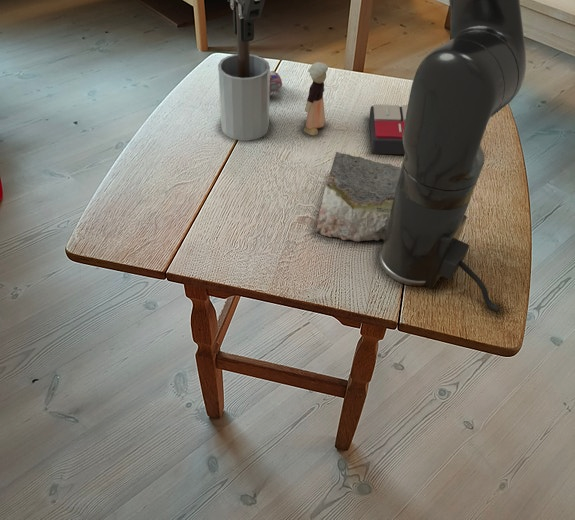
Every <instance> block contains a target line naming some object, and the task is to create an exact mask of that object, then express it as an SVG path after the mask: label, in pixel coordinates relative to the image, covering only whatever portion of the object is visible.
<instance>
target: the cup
mask: <svg viewBox="0 0 575 520" xmlns="http://www.w3.org/2000/svg"><path fill="white" fill-rule="evenodd" d="M217 72H218V75H217V76H218V90H219V91H218V92H219V93H218V94H219V105H220V106H219V108H220V109H219V111H220V125H221V130H222V133H223V134H224V135H225V136H227V137H228V138H230V139H233V140H235V141H236V140H237V141H245V142H246V141H247V142H248V141H254V140H257V139H258V140H259V139H260V138H262V137H264V136H265V135H266V134H267V133H268V131H269V127H270V95H269V92H270V72H271V66H270V63H269V62H268V60H266V59H265V58H264V57H262V56H259V55H256V54H251V53H250V73H253V74H254V75H255V77H250V78H239V77H233V75H234V74H236V73H238V53H235V54H231V55H227V56H225V57H224V58H222V59H221V60H220V61H219V63H218V64H217Z"/></svg>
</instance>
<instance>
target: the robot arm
mask: <svg viewBox="0 0 575 520" xmlns="http://www.w3.org/2000/svg"><path fill="white" fill-rule="evenodd" d="M226 1H227V3H229V6H230V9H231V10H232V23H233V24H232V25H233V33H234V34H235V35H236V36H237V19H236V5H237V4H238V11H239V36H240V40H241V41H242V42H248V41H250V42H252V41H253V40H254V39H255V19H259V18H261V16H262V13H263V9H264V5H265V2H266V0H226ZM448 1H449V24H450V27H449V29H450V30H449V31H450V33H449V40H448V41H446V42H445V43H443V44H442V45H440V46H438V47H437V48H435V49H434V50H432V51H430V52H429V53H428V54H427V55H426V56H424V58H423V59H422V61H421V62H420V63H419V65H418V68H416V69H417V70H415V71H416V72H415V74H414V76H413V80H412V83H411V87H410V91H409V98H408V103H407V106H408V107H407V113H406V118H405V124H404V130H403V146H404V150H405V154H403V159H402V163H401V167H400V168H401V171H400V175H399V179H398V184H397V188H396V192H395V196H394V200H393V204H392V208H391V212H390V217H389V221H388V225H387V229H386V233H385V238H384V240H383V241H382V246H381V248H380V251H379V256H378V257H379V264H380V266H381V268H382V269H383V271H384V272H385V273H386V274H387V275H388V276H389V277H390V278H391V279H393V280H395V281H396V282H399V283H400V284H404V285H408V286H412V287H426V288H429V289H433V288H434V287H435V286H436V284H437V283H438V281H439V280H440V279H441V278H442V277H443V278H445V279H447V280H448V281H451V279H452V278H453V277H454V275H455V274H456V272H457V271H458V269H459V268H461V270H463V271H464V272H465V273H466V274H467V275H468V276H469V277H470V278H471V279H472V280H473V281H474V282H475V283H476V284H477V287H478V288H479V289H480V291H481V294H482V298H483V301H484V303H485V304H486V306H487V307H488V308H489V309H491V310H492V311H495V312H496V313H498V311H499V309H500V308H501V307H500V306H498V305H496V304H494V303H493V302H492V301H491V299H490V296H489V291H488V289H487V287H486V284H485V283H484V282H483V281H482V279H481V278H480V277H479V276H478V275H477V273H476V272H474V271H473V270H472V269H471V268H470V267H469V266H468V265H467V264H466V263H465V262H464V260H465V258H466V255H467V253H468V252H469V251H468V250H469V248H470V246H471V245H470V244H468V243H466V242H463V241H462V240H460V237H461V234H462V231H463V229H464V227H465V224H466V221H467V220H468V219H467V218H468V216H467V215H466V212H467V210H468V207H469V204H470V201H471V198H472V197H473V194H474V190H475V188H476V185H477V183H478V181H479V178H480V176H481V173H482V170H483V167H484V164H485V153H484V150H483V148H482V147H481V143H482V140H483V138H484V134H485V131H486V129H487V126H488V124H489V121H490V119H491V118H492V117H494V115H496V114H497V113H499V112H500V111H501V110H502V109H503V108H505V107H506V106H507V105H509V103H511V102H512V101H513V99H514V98H515V97H516V96H517V95H518V94H519V92H520V89H521V87H522V85H523V83H524V80H525V76H526V71H527V57H526V56H527V53H526V44H525V43H526V42H525V35H524V33H525V32H524V25H523V17H522V10H521V9H522V8H521V1H520V0H448ZM244 4H245V6H244Z"/></svg>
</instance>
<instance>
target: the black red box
mask: <svg viewBox="0 0 575 520" xmlns="http://www.w3.org/2000/svg"><path fill="white" fill-rule="evenodd" d="M407 107H408V105H404V104H403V105H402V106H400V105H398V104H395V105H394V104H374V105H371V107H370V110H369V118H368V123H369V138H370V152H371V154H377V155H379V154H380V155H405V150H404V146H403V130H404V124H405V118H406V113H407Z"/></svg>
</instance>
